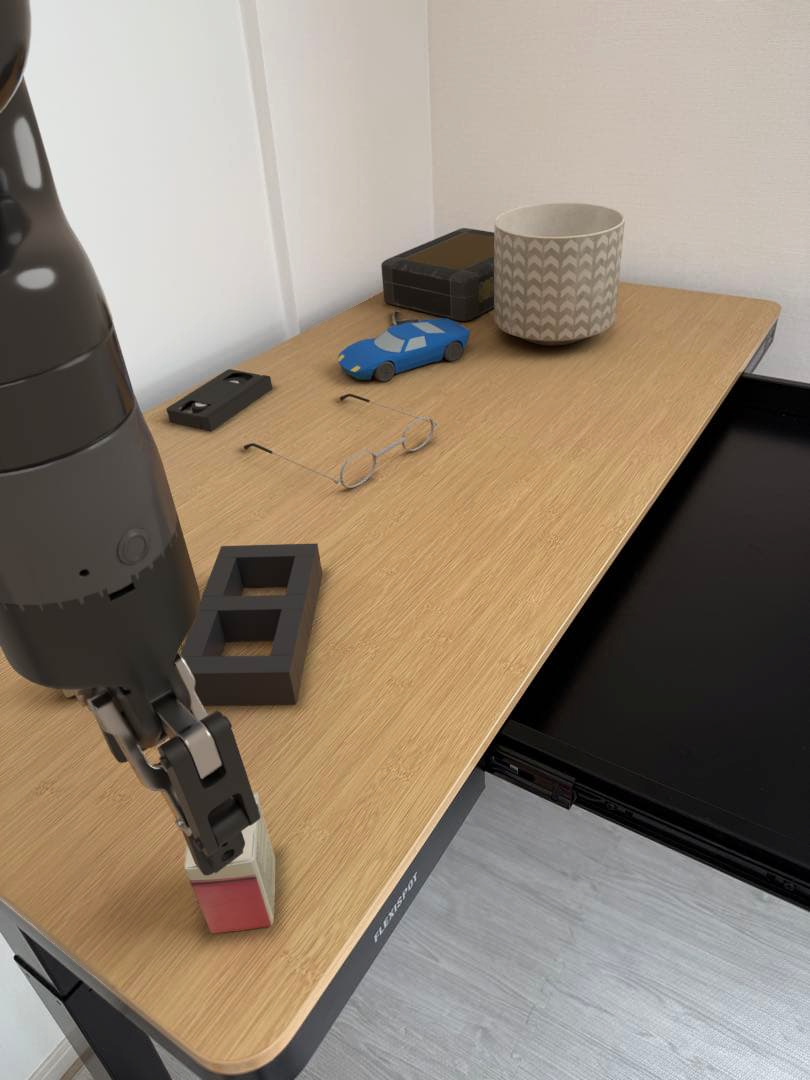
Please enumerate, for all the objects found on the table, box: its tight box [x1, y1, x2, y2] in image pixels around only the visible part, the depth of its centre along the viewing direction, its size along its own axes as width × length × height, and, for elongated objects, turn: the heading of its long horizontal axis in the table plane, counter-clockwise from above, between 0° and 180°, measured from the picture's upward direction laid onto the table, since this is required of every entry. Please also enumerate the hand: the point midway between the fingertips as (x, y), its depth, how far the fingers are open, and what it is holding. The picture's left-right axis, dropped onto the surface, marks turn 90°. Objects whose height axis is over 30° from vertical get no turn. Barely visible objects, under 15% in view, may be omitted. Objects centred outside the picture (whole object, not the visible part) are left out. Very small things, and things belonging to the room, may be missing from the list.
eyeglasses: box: [243, 393, 438, 489], centre depth 103 cm, size 18×19×4 cm
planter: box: [493, 201, 626, 347], centre depth 123 cm, size 19×19×18 cm
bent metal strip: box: [391, 309, 419, 326], centre depth 137 cm, size 7×1×5 cm
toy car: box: [337, 317, 470, 383], centre depth 122 cm, size 9×20×5 cm, turn 120°
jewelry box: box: [380, 227, 494, 322], centre depth 145 cm, size 25×20×8 cm
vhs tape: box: [166, 368, 273, 432], centre depth 115 cm, size 14×8×2 cm, turn 152°
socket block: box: [179, 542, 323, 707], centre depth 74 cm, size 18×10×4 cm, turn 178°
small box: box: [183, 792, 276, 934], centre depth 52 cm, size 5×4×8 cm
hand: (176, 800), depth 38 cm, fingers open, 8 cm apart
